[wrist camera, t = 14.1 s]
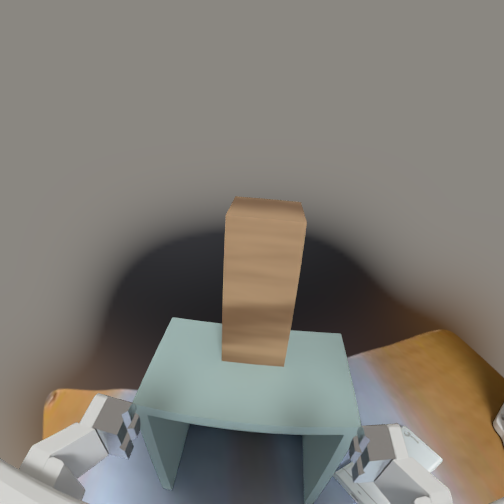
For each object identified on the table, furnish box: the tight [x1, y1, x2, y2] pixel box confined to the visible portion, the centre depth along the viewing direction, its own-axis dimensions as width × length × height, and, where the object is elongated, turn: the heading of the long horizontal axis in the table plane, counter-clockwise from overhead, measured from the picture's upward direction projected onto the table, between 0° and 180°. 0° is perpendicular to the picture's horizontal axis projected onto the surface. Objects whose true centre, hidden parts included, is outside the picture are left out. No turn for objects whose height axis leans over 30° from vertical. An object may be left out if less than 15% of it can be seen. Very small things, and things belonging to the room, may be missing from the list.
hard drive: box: [333, 426, 443, 504], centre depth 28 cm, size 2×8×12 cm
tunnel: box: [132, 318, 361, 504], centre depth 27 cm, size 11×16×16 cm
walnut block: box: [222, 197, 307, 367], centre depth 24 cm, size 5×5×12 cm
